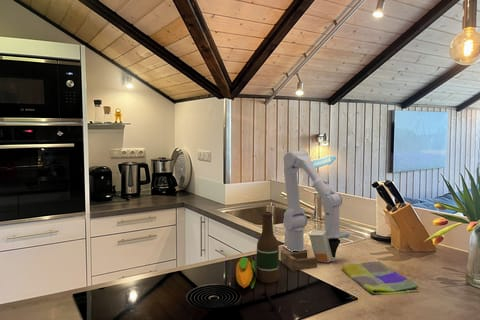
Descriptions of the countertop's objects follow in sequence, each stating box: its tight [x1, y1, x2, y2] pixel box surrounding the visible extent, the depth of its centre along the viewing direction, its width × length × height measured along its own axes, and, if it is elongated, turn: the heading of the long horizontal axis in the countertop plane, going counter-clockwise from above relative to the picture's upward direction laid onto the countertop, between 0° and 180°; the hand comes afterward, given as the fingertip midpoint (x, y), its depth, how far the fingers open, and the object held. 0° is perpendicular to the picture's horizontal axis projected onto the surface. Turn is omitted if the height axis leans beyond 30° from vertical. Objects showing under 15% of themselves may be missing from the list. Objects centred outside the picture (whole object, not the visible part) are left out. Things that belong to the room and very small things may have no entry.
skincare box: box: [309, 229, 333, 263], centre depth 146 cm, size 6×4×12 cm
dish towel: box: [341, 261, 420, 296], centre depth 128 cm, size 18×24×3 cm
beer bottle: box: [256, 211, 280, 284], centre depth 129 cm, size 8×8×24 cm
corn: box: [235, 257, 257, 289], centre depth 126 cm, size 7×8×20 cm
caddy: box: [280, 249, 318, 272], centre depth 144 cm, size 12×10×4 cm
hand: (332, 256), depth 147 cm, fingers closed, pressing on skincare box
